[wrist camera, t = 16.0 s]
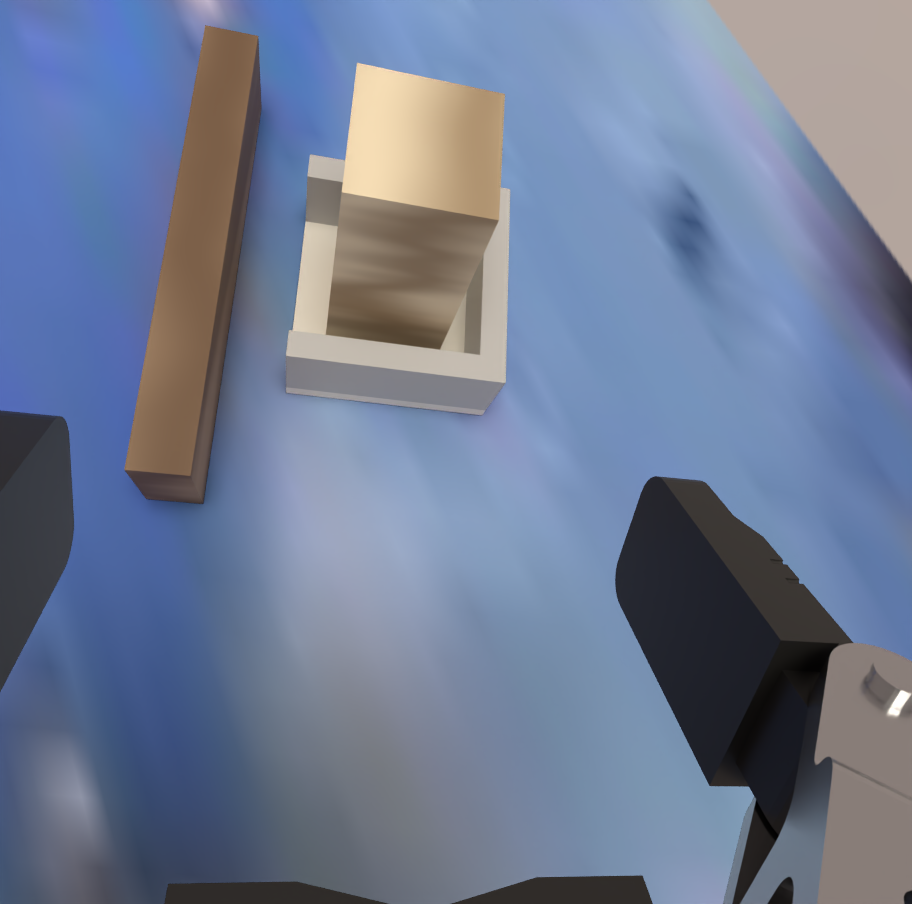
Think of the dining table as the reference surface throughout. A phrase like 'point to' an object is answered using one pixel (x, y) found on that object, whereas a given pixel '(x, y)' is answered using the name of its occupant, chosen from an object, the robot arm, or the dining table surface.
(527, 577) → the dining table surface
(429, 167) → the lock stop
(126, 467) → the rail
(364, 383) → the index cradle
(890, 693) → the robot arm
